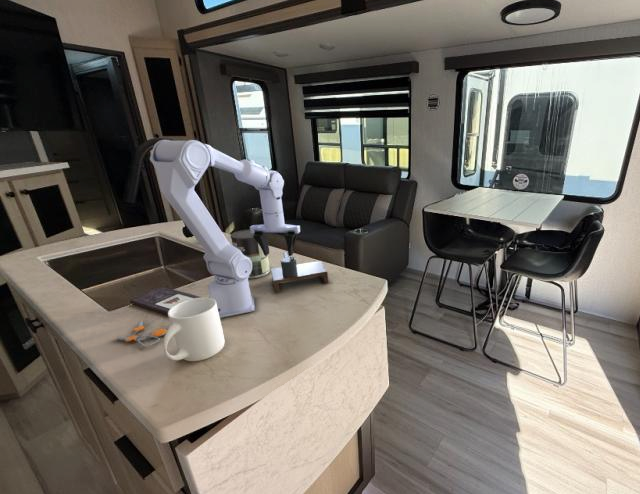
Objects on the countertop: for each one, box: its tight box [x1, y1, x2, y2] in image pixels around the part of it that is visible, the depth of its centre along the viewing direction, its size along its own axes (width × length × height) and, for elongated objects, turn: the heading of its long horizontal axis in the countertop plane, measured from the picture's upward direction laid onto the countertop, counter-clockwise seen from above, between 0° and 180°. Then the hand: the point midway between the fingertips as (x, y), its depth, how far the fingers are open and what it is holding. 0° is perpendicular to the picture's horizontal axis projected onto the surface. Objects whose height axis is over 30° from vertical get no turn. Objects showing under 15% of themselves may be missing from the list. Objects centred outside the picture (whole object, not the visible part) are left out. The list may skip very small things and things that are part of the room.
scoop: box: [280, 252, 298, 278], centre depth 99 cm, size 9×4×5 cm, turn 25°
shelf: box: [270, 260, 329, 294], centre depth 102 cm, size 16×10×4 cm, turn 116°
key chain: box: [116, 320, 168, 348], centre depth 75 cm, size 13×7×1 cm, turn 66°
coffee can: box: [230, 228, 271, 280], centre depth 107 cm, size 10×10×14 cm
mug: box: [162, 297, 226, 362], centre depth 66 cm, size 9×12×11 cm
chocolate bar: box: [129, 286, 203, 316], centre depth 89 cm, size 9×1×18 cm
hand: (278, 254), depth 99 cm, fingers open, 7 cm apart
